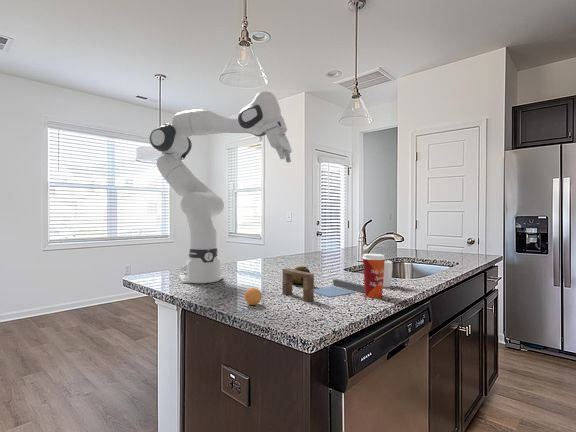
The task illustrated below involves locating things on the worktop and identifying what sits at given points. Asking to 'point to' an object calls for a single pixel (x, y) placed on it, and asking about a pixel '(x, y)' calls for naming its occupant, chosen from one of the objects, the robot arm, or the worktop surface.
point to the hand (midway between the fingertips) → (286, 160)
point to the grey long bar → (349, 285)
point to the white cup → (387, 273)
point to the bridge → (307, 283)
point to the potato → (296, 278)
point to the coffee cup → (373, 274)
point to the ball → (253, 296)
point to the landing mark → (332, 291)
